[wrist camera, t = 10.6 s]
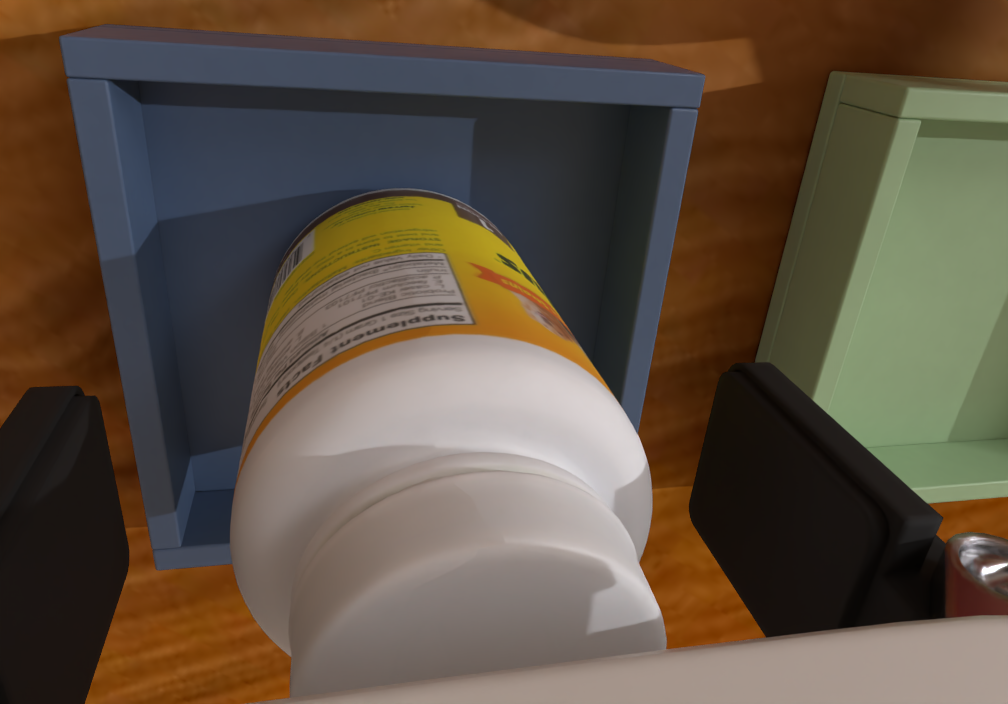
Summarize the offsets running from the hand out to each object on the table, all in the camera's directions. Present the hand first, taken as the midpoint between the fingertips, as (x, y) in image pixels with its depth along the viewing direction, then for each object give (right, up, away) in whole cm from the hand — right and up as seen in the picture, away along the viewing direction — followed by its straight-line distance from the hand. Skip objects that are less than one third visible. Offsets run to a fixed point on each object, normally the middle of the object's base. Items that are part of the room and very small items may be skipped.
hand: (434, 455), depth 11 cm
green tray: (+13, +3, +9) cm, 16 cm away
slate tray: (-1, +3, +6) cm, 6 cm away
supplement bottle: (-1, +3, +5) cm, 6 cm away
